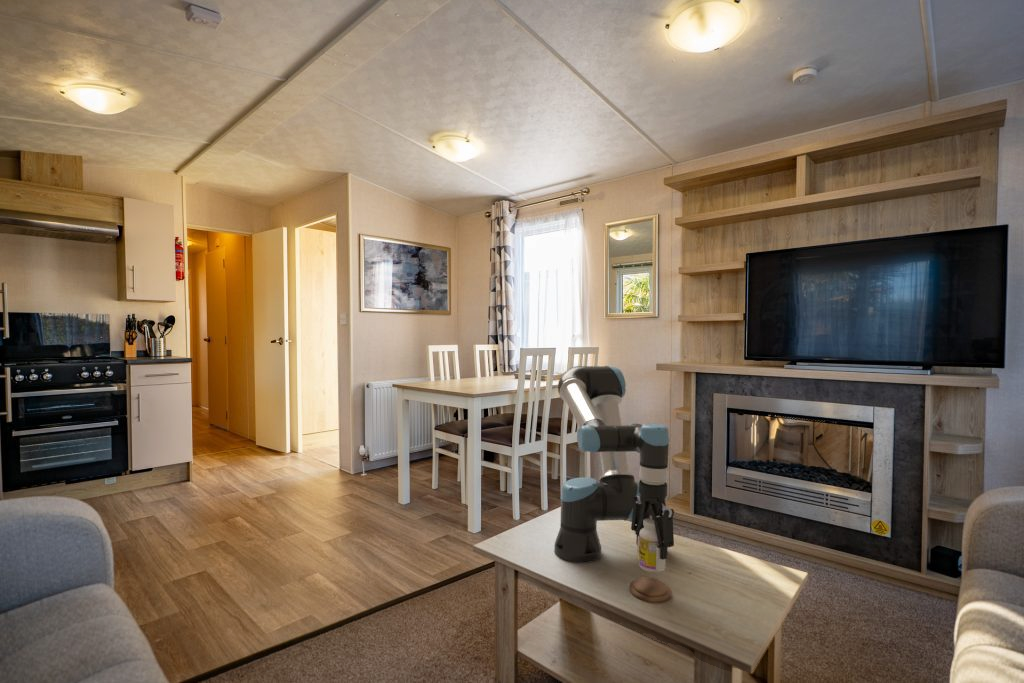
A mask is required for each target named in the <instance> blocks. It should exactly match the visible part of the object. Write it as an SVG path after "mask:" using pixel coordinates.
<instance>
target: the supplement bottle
mask: <svg viewBox="0 0 1024 683" xmlns="http://www.w3.org/2000/svg"><path fill="white" fill-rule="evenodd" d="M643 525H644V528H642V529H641V530H640V533H639V560H638V566H639V567H640V569H642V570H643V571H647V572H650V573H658V572H660V571H656V546H658V545H659V543H658V538H657V533H656V528H655V523H654V521H653V520H652V518H648V519H644V520H643ZM663 542H664V541H663Z"/></svg>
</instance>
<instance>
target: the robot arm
mask: <svg viewBox="0 0 1024 683" xmlns="http://www.w3.org/2000/svg"><path fill="white" fill-rule="evenodd" d="M557 391H558V394H559V396H560V398H561V400H562V401H563V402H564V403H566V404H567V406H568V408H569V410H570V412H571V414H572V416H573V418H574V420H575V422H576V425H577V426H578V429H577V434H576V442H577V446H578V449H579V450H580V451H582V452H587V453H588V452H590V453H599V454H600V462H601V468H602V475H601V476H600V477H599V482H598V480H597V479H595V478H594V477H593V478H592V477H586V476H585V477H584V476H583V477H574V478H570V479H568V480H567V481H565V482H564V483H563V484H562V486H561V494H560V525H559V526H560V528H559V531H558V532H557V535H556V539H555V541H554V549H553V550H554V554H555V555H556V556H558V557H559V558H560V559H563V560H565V561H568V562H571V563H572V562H573V563H581V564H582V563H591V562H595V561H597V560H598V559H600V558H601V557H602V544H601V540H600V538H599V534H598V530H597V529H598V528H597V526H598V525H597V523H598V522H599V521H600V522H601V521H625V522H626V521H629V520H630V521H631V523H630V524H631V525H630V529H631V530H632V531H634V532H635V535H636V542H635V543H636V547H637V549H636V551H637V553H636V560H638V561H639V533H640V530H641V529H642V528H644V525H643V520H644V519H648V518H650V515H651V516H652V520H653V521H654V523H655V528H656V533H657V538H658V543H659V545H658V546H656V571H659V572H661V571H664V570H666V561H667V559H668V549H669V548H671V547H672V548H673V547H674V546H675V540H674V539H675V537H674V514H675V510H674V508H668V507H667V504H666V501H665V500H666V498H667V496H668V483H667V481H668V469H669V450H670V448H669V446H670V444H669V443H670V437H669V435H670V434H669V428H668V427H667V425H665V424H659V423H643V424H641V423H629V424H627V425H622V419H621V414H620V408H619V405H620V404H621V402H622V400H623V399H622V398H624V396H625V395H626V379H625V376H624V373H623V372H622V370H621V369H619V368H618V367H616V366H609V365H604V366H600V365H599V366H598V365H597V366H594V365H591V366H590V365H589V366H587V365H585V366H584V365H577V366H572V367H570V368H568V369H567V370H566V371H565V372H564V373H563V374H562V375H561V376H560V378H559V380H558V384H557ZM626 452H637V453H638V454H639V470H638V471H639V473H638V474H639V475H638V479H639V481H636V480H635V476H634V474H632V472H630V470H629V465H628V458H627V453H626ZM656 516H660V517H656ZM663 541H664V542H663Z"/></svg>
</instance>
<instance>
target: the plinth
mask: <svg viewBox="0 0 1024 683" xmlns="http://www.w3.org/2000/svg"><path fill="white" fill-rule="evenodd" d="M629 592H630V594H632V596H634V597H635V598H637V599H639V600H640V601H644V602H648V603H652V604H653V603H654V604H655V603H665V602H668V601H669V600H670V599H671V597H672V591H671V588H670V587H669V586H668V585H667V584H666V583H665V582H664V581H662V580H660V579H658V578H654V577H649V576H640V577H637V578H635V579H634V580H632V581H631V582H630V583H629Z"/></svg>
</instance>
